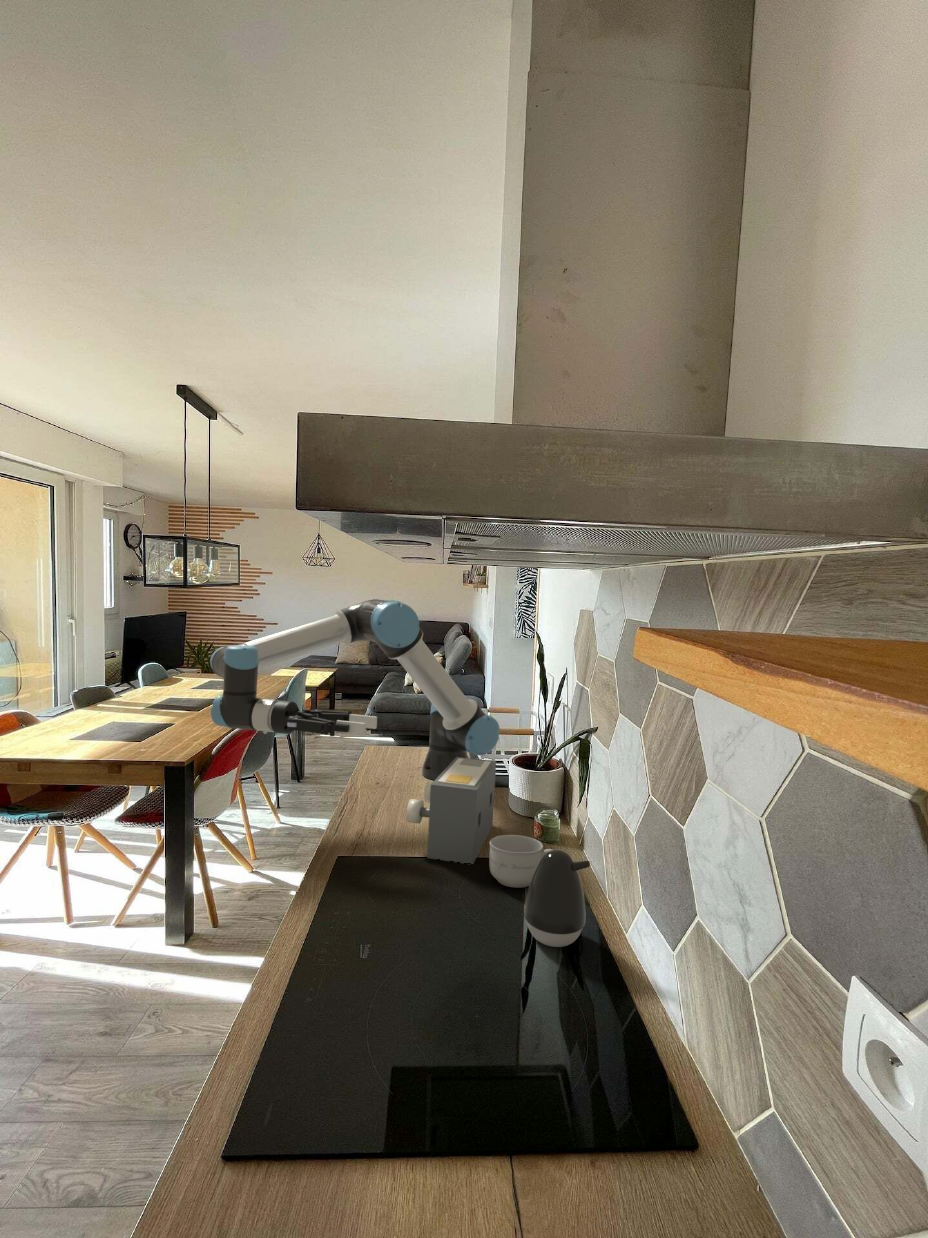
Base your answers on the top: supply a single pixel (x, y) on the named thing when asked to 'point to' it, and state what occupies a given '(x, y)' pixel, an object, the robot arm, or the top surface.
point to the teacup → (515, 859)
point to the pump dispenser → (556, 900)
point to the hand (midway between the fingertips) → (370, 726)
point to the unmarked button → (427, 792)
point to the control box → (461, 810)
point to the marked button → (416, 811)
